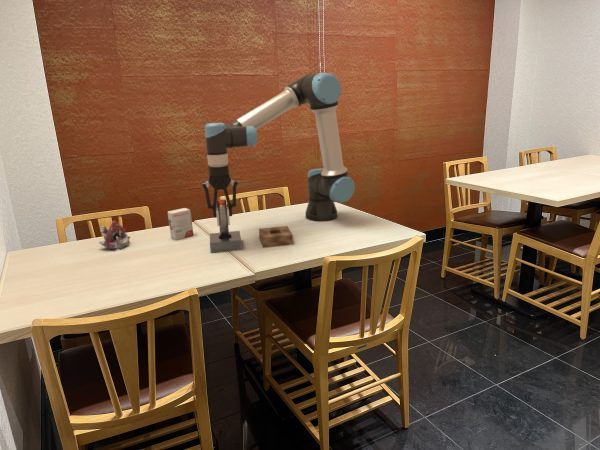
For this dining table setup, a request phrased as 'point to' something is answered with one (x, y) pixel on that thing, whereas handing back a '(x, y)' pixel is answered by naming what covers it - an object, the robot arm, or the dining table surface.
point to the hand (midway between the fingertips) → (223, 224)
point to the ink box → (180, 223)
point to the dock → (225, 242)
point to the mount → (275, 236)
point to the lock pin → (223, 219)
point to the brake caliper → (114, 237)
